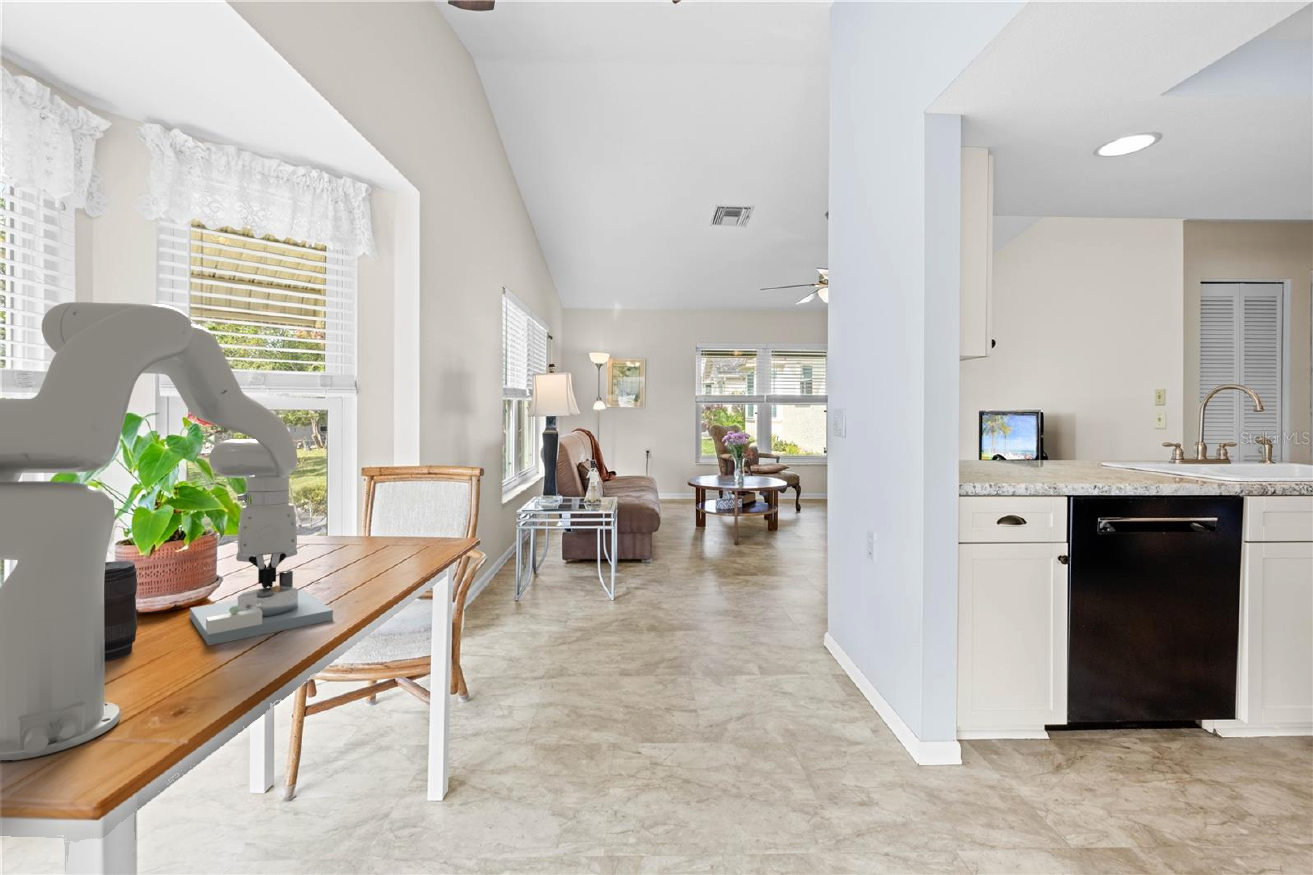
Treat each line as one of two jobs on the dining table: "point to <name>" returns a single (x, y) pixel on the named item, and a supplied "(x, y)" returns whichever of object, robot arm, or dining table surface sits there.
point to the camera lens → (119, 608)
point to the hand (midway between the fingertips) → (267, 586)
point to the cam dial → (272, 597)
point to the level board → (269, 622)
